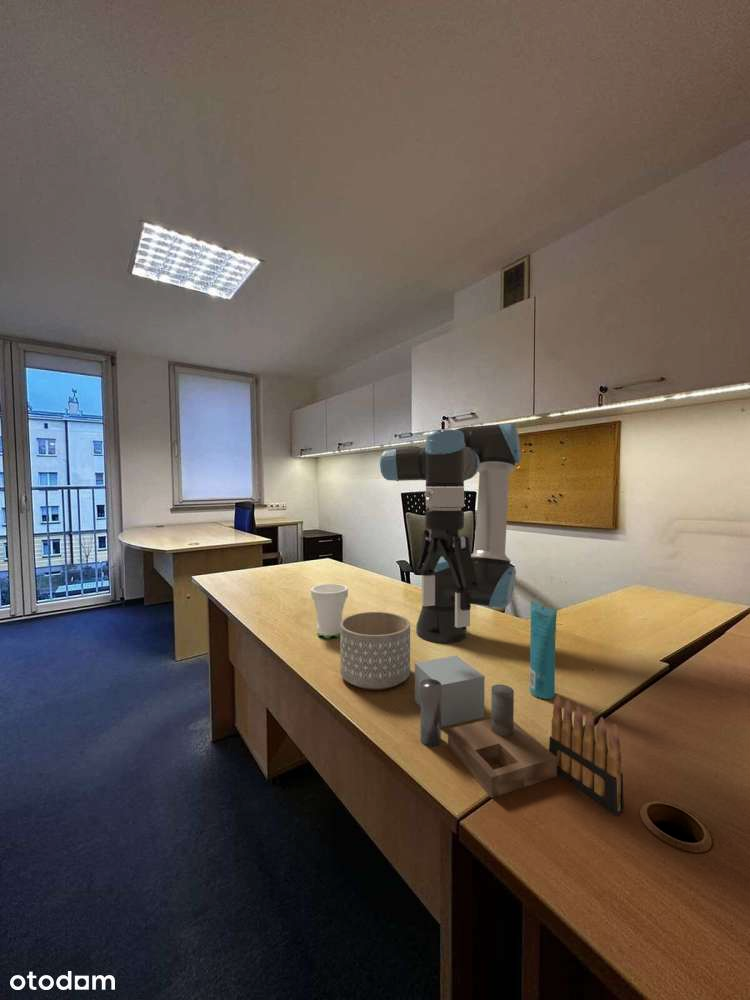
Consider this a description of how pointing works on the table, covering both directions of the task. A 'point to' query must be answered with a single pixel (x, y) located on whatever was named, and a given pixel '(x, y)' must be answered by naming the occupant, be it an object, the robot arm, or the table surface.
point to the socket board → (501, 749)
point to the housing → (453, 688)
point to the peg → (430, 712)
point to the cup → (329, 607)
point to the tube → (542, 651)
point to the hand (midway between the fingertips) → (444, 615)
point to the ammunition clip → (588, 756)
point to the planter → (375, 650)
